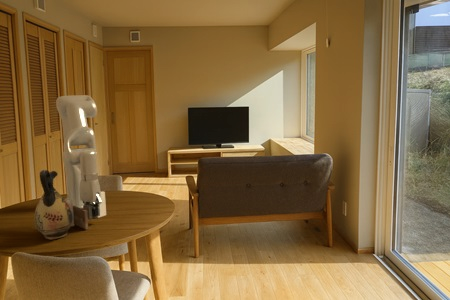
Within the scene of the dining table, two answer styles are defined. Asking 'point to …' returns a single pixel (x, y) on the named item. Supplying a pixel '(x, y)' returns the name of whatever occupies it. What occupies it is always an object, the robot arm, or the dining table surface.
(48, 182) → the ceramic jug
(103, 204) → the wall
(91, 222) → the dining table surface
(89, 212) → the block
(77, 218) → the door
